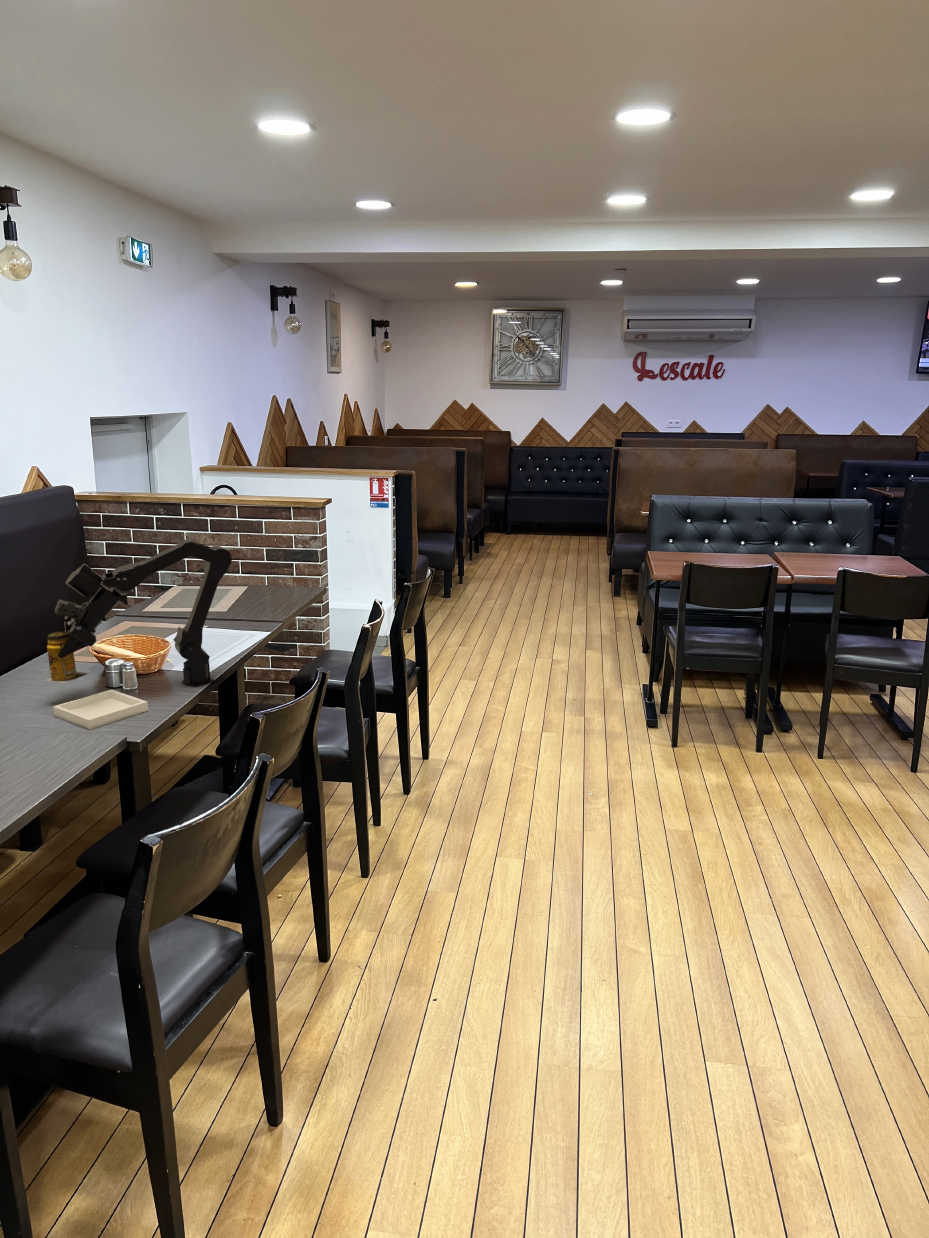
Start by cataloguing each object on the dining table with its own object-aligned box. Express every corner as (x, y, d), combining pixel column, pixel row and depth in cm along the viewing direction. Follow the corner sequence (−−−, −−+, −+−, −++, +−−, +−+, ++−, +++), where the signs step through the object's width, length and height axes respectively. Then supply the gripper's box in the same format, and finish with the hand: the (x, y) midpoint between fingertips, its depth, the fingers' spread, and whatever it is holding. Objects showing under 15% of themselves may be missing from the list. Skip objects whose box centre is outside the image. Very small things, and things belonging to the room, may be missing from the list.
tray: (112, 698, 226) (111, 689, 226) (148, 710, 217) (147, 701, 216) (54, 715, 214) (53, 706, 213) (89, 729, 204) (88, 720, 204)
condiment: (43, 680, 220) (37, 635, 217) (70, 670, 228) (65, 627, 225) (63, 683, 217) (57, 638, 214) (90, 674, 225) (85, 630, 222)
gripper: (69, 582, 226) (28, 627, 224) (76, 595, 210) (32, 644, 208) (104, 607, 232) (65, 651, 229) (113, 622, 216) (71, 670, 214)
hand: (58, 654), depth 220 cm, fingers closed on condiment, 6 cm apart
